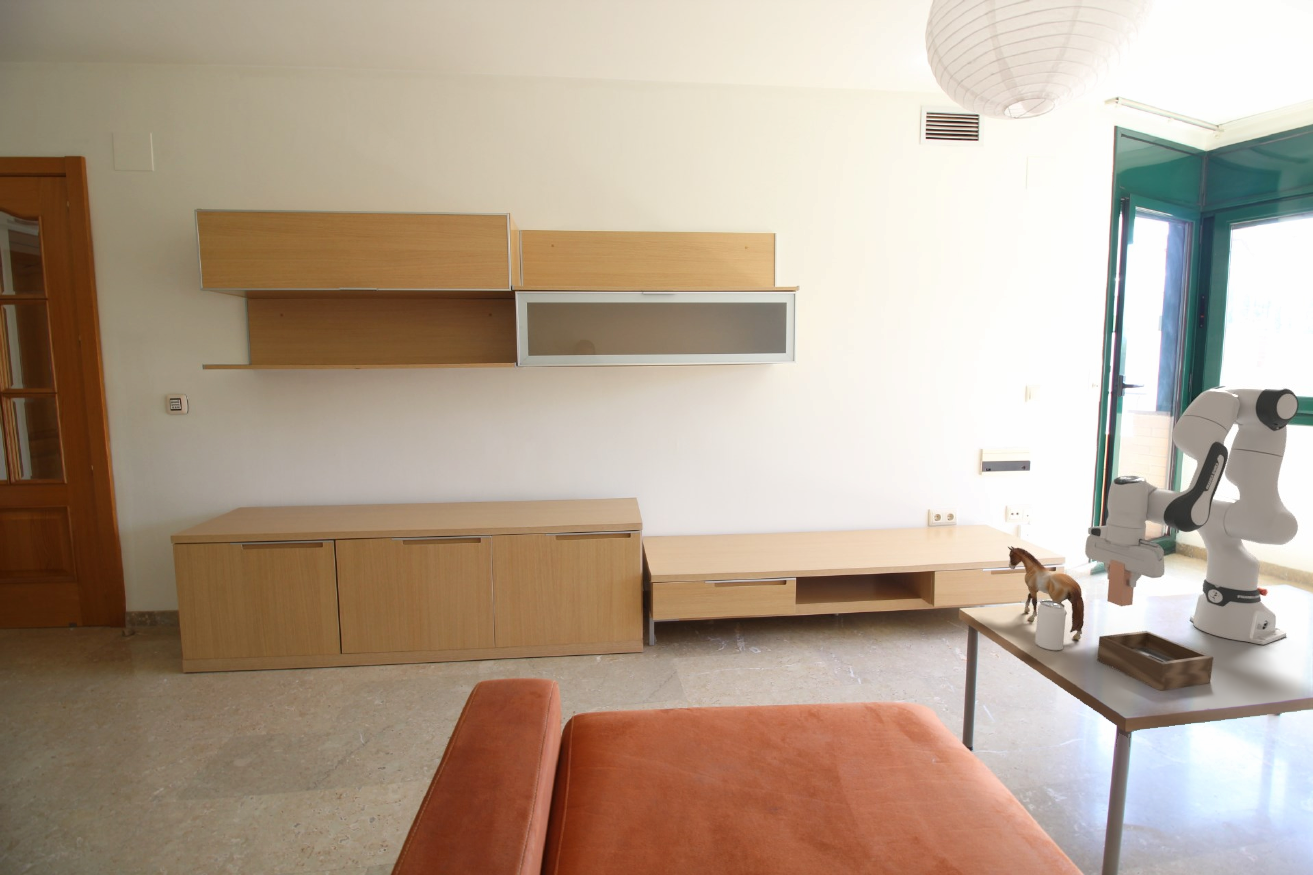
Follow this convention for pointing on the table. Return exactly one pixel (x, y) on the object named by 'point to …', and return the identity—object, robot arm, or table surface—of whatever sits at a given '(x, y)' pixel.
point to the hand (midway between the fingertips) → (1121, 583)
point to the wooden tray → (1155, 660)
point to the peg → (1119, 585)
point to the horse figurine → (1049, 587)
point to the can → (1050, 625)
